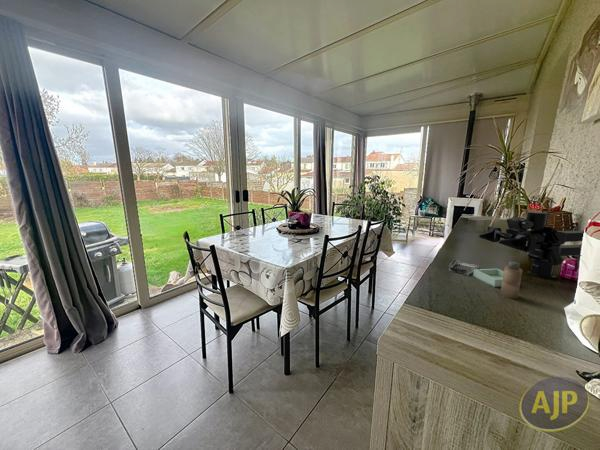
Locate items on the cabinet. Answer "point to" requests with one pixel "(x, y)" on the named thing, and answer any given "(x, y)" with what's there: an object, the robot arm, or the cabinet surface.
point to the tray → (490, 276)
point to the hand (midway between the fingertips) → (488, 238)
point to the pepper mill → (511, 280)
